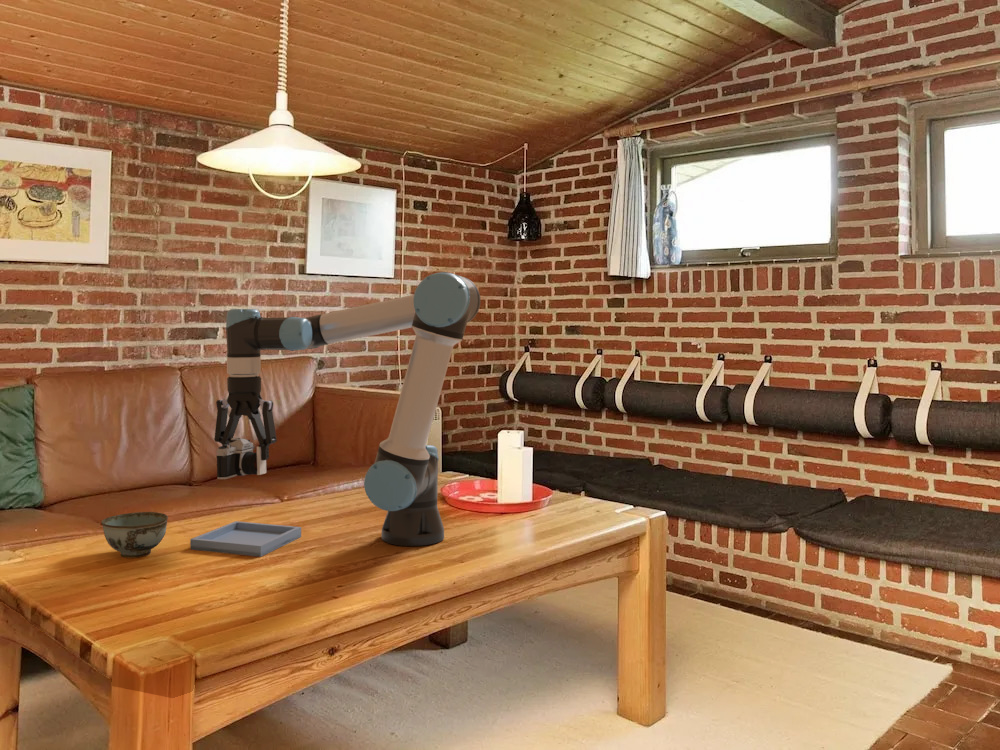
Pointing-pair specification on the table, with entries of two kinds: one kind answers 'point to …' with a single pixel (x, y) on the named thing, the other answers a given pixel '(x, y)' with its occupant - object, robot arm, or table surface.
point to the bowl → (135, 532)
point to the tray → (246, 538)
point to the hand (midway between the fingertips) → (246, 472)
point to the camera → (236, 459)
